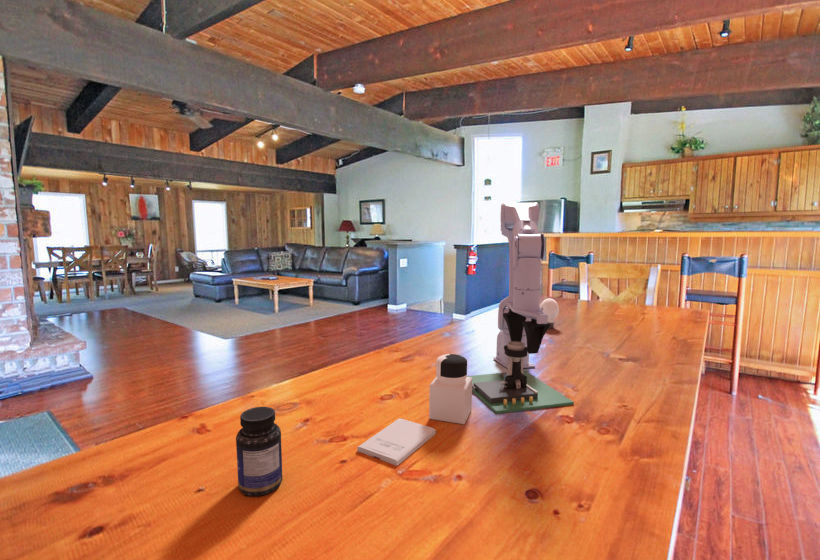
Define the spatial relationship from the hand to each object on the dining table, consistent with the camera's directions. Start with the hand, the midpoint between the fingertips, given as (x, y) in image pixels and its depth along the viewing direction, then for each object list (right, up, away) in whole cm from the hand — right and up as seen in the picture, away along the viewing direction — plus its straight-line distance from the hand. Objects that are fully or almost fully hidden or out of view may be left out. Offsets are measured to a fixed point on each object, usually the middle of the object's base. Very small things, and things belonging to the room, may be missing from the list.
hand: (524, 348), depth 96 cm
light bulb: (+26, -3, +63) cm, 68 cm away
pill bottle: (-47, -15, -34) cm, 60 cm away
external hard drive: (-28, -14, -21) cm, 38 cm away
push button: (-3, -9, -1) cm, 9 cm away
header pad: (-5, -10, -1) cm, 11 cm away
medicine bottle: (-18, -12, -11) cm, 24 cm away
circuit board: (-2, -10, +2) cm, 11 cm away
